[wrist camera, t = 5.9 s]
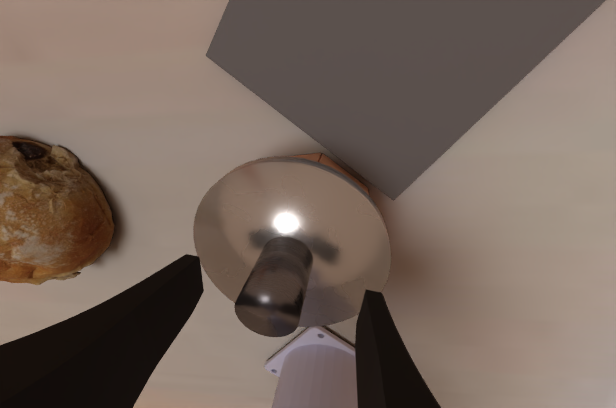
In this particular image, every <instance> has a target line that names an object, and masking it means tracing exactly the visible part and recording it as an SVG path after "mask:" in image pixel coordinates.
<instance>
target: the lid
mask: <svg viewBox="0 0 616 408" xmlns="http://www.w3.org/2000/svg"><path fill="white" fill-rule="evenodd" d="M194 243H195V248H196V252H197V255H198V257H200V262H201V265H202V267H203V268H204V270H205V272H206V273H207V275H208V277H209V278H210V279H211V281H212V282H213V283H214V284H215V286H216V287H217V288H218V289H219V290H220V291H221V292H222V293H223V294H224V295H226V296H227V297H228V298H229V299H230V300H231V301H233V302H234V303H235V312H236V315H237V317H238V318H239V320H240V321H241V322H242V323H243V324H244V325H245V326H246V327H247V328H249V329H250V330H252V331H254V332H256V333H258V334H261V335H264V336H269V337H282V336H286V335H289V334H291V333H292V332H294V331H295V330H296V328H297V327H298V326H300V327H315V326H325V325H330V324H335V323H338V322H341V321H344V320H347V319H349V318H351V317H353V316H355V315H357V314H359V313H360V309H361V305H362V302H363V298H364V294H365V291H366V290H371V291H376V292H381V291H382V290H383V288H384V286H385V284H386V282H387V279H388V276H389V272H390V266H391V248H390V242H389V236H388V232H387V227H386V224H385V222H384V219H383V217H382V214H381V212H380V211H379V209H378V207H377V206H376V204H375V202H374V201H373V200H372V199H371V198H370V196H369V195H368V194H367V193H366V192H365V191H364V190H363V189H362V188H361V187H360V186H359V185H358V184H357V183H356V182H354V181H353V180H352V179H350V178H349V177H347V176H346V175H345V174H343V173H341V172H339V171H337V170H336V169H334V168H332V167H330V166H327V165H325V164H322V163H319V162H317V161H313V160H309V159H305V158H298V157H290V156H274V157H267V158H260V159H257V160H253V161H250V162H247V163H245V164H243V165H241V166H238V167H236V168H235V169H233V170H232V171H230V172H229V173H227V174H226V175H225V176H224V177H223V178H221V179H220V180H219V181H218V182H217V183H216V184H215V185H214V186H212V187H211V188H210V189H209V191H208V192H207V193H206V195H205V196H204V197H203V199H202V201H201V203H200V205H199V207H198V210H197V213H196V216H195V221H194Z"/></svg>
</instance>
